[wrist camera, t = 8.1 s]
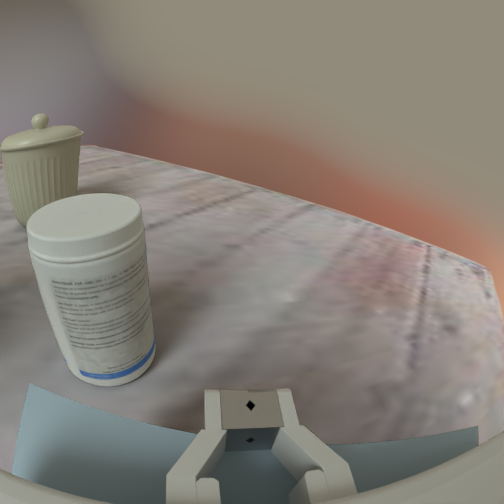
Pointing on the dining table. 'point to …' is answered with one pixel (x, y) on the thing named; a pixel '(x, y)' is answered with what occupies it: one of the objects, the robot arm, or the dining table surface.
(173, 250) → the dining table surface
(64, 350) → the supplement tub
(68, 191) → the canister
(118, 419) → the cover
